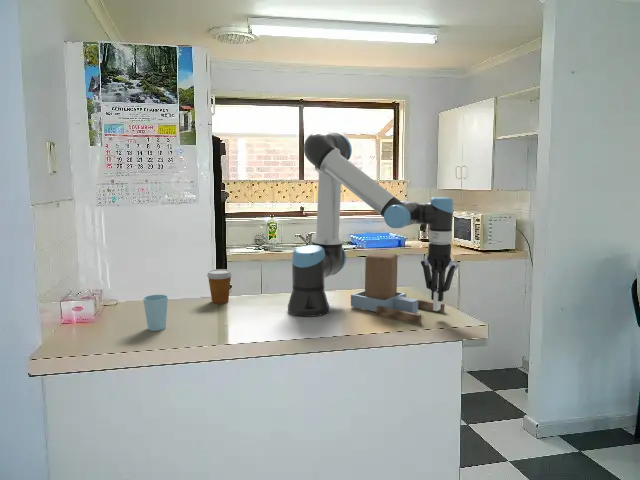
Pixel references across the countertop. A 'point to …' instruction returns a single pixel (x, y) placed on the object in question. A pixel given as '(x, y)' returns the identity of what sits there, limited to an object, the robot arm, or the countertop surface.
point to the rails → (407, 315)
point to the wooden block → (381, 275)
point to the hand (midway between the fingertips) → (436, 309)
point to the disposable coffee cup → (219, 285)
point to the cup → (156, 311)
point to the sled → (384, 302)
